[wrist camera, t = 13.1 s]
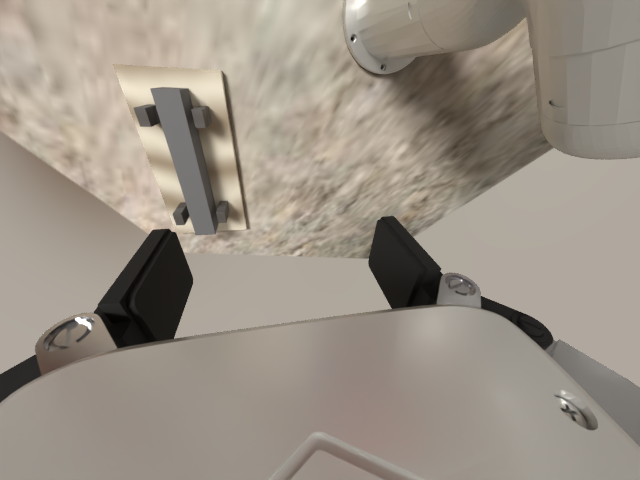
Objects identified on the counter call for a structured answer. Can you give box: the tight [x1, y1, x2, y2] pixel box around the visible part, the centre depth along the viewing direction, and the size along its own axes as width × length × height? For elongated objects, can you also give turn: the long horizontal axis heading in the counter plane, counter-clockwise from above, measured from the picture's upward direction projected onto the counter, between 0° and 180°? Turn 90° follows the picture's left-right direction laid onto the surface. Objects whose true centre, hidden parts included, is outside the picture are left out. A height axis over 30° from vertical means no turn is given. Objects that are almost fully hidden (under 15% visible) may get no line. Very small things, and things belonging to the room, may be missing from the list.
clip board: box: [113, 64, 247, 234], centre depth 34 cm, size 24×12×5 cm, turn 178°
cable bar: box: [150, 87, 219, 235], centre depth 34 cm, size 20×3×4 cm, turn 177°
